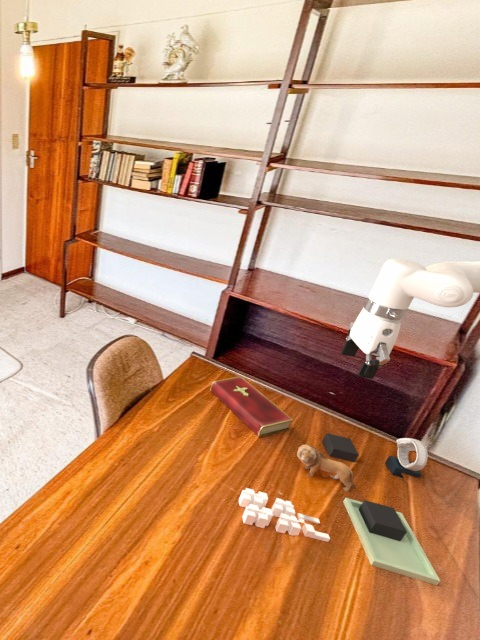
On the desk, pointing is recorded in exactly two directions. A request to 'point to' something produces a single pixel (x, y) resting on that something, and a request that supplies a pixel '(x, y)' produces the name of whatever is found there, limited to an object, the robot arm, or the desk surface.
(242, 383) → the hardcover book
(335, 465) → the lion figurine
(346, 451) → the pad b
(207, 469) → the desk surface
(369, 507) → the black square block
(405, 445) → the watch
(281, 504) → the modular blocks
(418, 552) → the pale green flat tray
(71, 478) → the desk surface
